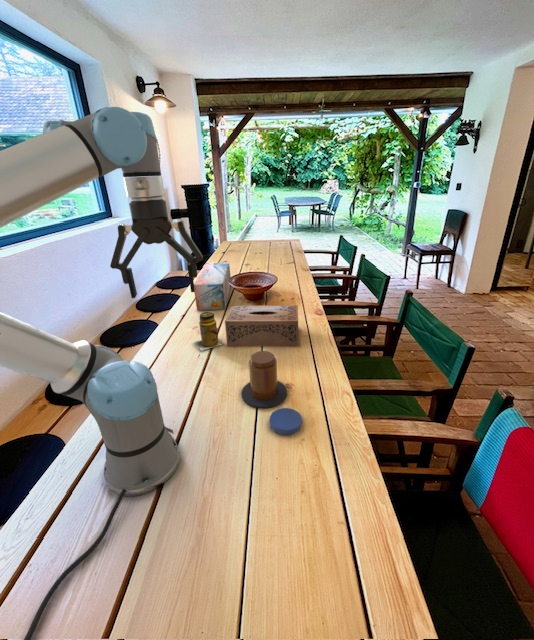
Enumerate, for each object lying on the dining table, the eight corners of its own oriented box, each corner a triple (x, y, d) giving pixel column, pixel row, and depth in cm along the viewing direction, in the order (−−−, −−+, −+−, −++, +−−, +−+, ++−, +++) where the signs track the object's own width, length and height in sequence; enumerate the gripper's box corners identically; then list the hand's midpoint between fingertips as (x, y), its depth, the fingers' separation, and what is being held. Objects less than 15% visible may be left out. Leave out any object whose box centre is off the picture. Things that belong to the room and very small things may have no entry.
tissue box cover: (297, 328, 129) (297, 305, 124) (298, 346, 115) (298, 321, 111) (233, 328, 131) (231, 305, 126) (227, 346, 118) (224, 321, 113)
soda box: (226, 310, 149) (223, 283, 143) (196, 311, 148) (192, 285, 143) (231, 283, 186) (229, 261, 180) (207, 284, 185) (204, 262, 180)
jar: (272, 402, 87) (271, 366, 82) (246, 397, 89) (244, 362, 84) (280, 386, 93) (280, 351, 89) (256, 381, 96) (254, 348, 91)
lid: (275, 410, 85) (275, 405, 84) (305, 416, 82) (305, 411, 81) (265, 431, 78) (265, 425, 77) (296, 439, 75) (296, 433, 75)
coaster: (279, 412, 84) (279, 410, 84) (234, 403, 88) (233, 401, 88) (292, 384, 95) (292, 382, 95) (251, 377, 99) (251, 375, 99)
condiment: (222, 344, 119) (219, 314, 114) (201, 351, 115) (196, 321, 110) (214, 337, 124) (210, 308, 119) (193, 343, 120) (189, 314, 115)
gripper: (77, 203, 63) (104, 304, 72) (206, 196, 67) (217, 293, 76) (89, 201, 70) (112, 293, 78) (205, 195, 74) (215, 283, 82)
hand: (164, 293), depth 77 cm, fingers open, 13 cm apart
